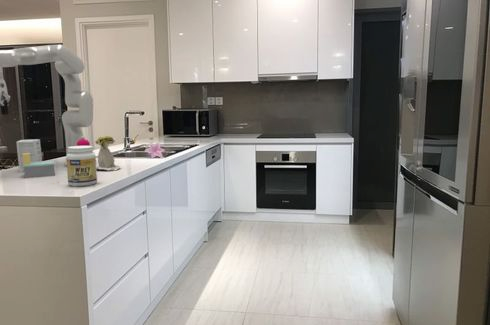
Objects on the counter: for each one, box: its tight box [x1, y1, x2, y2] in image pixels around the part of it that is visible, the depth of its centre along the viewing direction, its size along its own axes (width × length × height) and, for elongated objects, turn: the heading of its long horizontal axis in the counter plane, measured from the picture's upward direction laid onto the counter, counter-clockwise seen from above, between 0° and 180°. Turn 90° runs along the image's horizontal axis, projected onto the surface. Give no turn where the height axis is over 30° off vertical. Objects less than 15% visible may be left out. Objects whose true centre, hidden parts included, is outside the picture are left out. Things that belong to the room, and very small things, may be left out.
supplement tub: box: [65, 145, 98, 187], centre depth 179 cm, size 12×12×17 cm
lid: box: [23, 153, 55, 167], centre depth 197 cm, size 13×9×7 cm
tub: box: [23, 165, 56, 179], centre depth 198 cm, size 13×9×6 cm
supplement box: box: [16, 138, 43, 173], centre depth 211 cm, size 10×9×17 cm
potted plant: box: [94, 135, 121, 172], centre depth 216 cm, size 12×13×18 cm
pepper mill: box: [77, 135, 91, 146], centre depth 197 cm, size 7×7×20 cm
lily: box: [144, 141, 166, 159], centre depth 260 cm, size 12×12×10 cm
